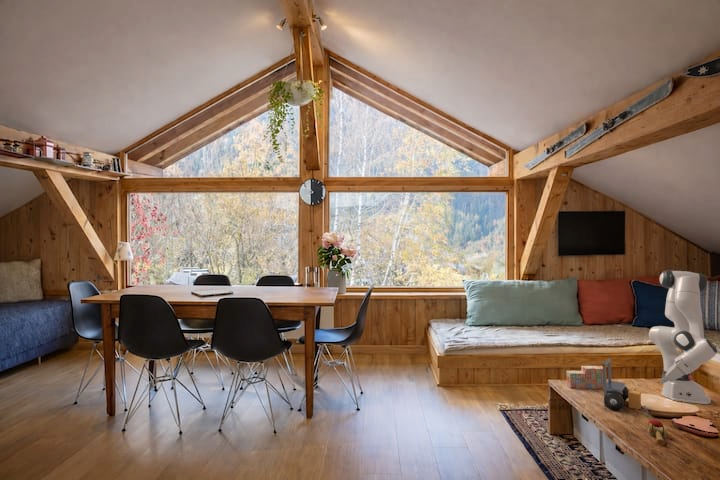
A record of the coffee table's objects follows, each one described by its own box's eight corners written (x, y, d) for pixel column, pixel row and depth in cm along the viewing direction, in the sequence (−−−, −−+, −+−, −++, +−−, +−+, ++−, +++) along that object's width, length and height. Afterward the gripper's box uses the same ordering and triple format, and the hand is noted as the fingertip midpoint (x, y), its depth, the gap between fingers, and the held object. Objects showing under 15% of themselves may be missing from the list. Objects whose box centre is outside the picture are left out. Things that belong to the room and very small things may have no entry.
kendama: (674, 450, 190) (666, 428, 206) (670, 436, 190) (662, 415, 206) (653, 450, 193) (646, 429, 210) (649, 436, 193) (643, 416, 209)
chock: (641, 406, 237) (640, 391, 237) (639, 409, 233) (639, 394, 233) (630, 404, 240) (629, 390, 240) (628, 407, 236) (628, 392, 236)
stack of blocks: (570, 388, 269) (569, 368, 270) (566, 385, 276) (565, 365, 276) (607, 388, 267) (606, 368, 268) (602, 385, 274) (601, 365, 274)
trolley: (630, 401, 245) (628, 359, 246) (623, 412, 229) (621, 367, 230) (610, 397, 252) (609, 356, 252) (602, 408, 235) (601, 364, 236)
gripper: (680, 355, 232) (658, 371, 238) (677, 363, 217) (654, 379, 222) (691, 365, 229) (669, 381, 235) (689, 373, 214) (665, 390, 219)
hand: (661, 380), depth 229 cm, fingers open, 8 cm apart
